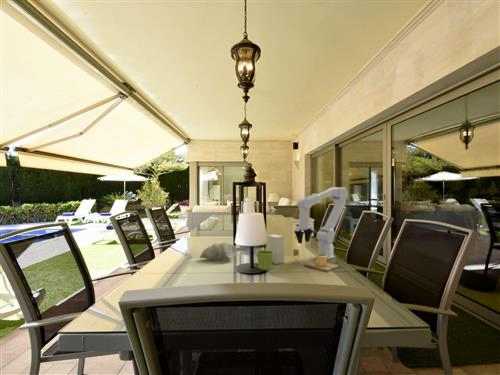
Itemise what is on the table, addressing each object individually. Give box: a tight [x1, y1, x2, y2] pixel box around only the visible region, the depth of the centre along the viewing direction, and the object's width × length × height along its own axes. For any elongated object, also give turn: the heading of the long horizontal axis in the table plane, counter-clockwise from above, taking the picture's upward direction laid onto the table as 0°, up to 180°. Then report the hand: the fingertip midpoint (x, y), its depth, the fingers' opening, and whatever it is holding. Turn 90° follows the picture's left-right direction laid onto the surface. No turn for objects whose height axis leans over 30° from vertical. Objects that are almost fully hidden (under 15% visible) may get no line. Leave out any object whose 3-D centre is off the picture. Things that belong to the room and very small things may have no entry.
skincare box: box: [266, 234, 285, 265], centre depth 157 cm, size 8×6×15 cm
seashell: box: [199, 242, 237, 261], centre depth 157 cm, size 16×15×10 cm
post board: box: [303, 259, 341, 273], centre depth 151 cm, size 13×14×4 cm
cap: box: [315, 253, 328, 266], centre depth 150 cm, size 6×6×5 cm
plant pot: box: [254, 249, 274, 271], centre depth 143 cm, size 9×9×9 cm
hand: (303, 242), depth 165 cm, fingers open, 7 cm apart
